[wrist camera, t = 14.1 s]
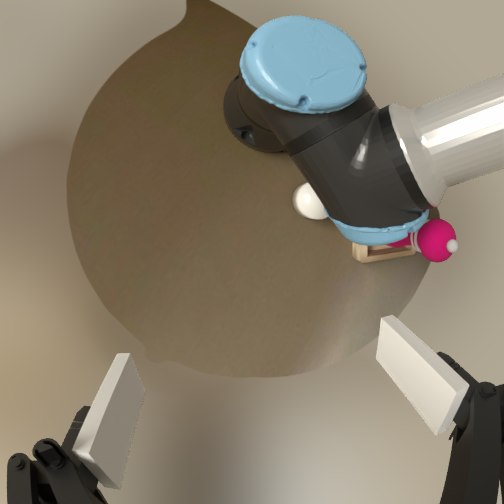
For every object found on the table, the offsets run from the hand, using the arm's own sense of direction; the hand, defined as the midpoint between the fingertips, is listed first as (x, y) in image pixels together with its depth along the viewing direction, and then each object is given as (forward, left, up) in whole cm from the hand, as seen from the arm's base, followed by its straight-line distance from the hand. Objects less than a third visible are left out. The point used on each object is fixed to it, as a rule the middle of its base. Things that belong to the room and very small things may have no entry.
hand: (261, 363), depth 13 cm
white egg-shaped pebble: (-4, +13, -34) cm, 37 cm away
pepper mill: (+1, +27, -34) cm, 44 cm away
